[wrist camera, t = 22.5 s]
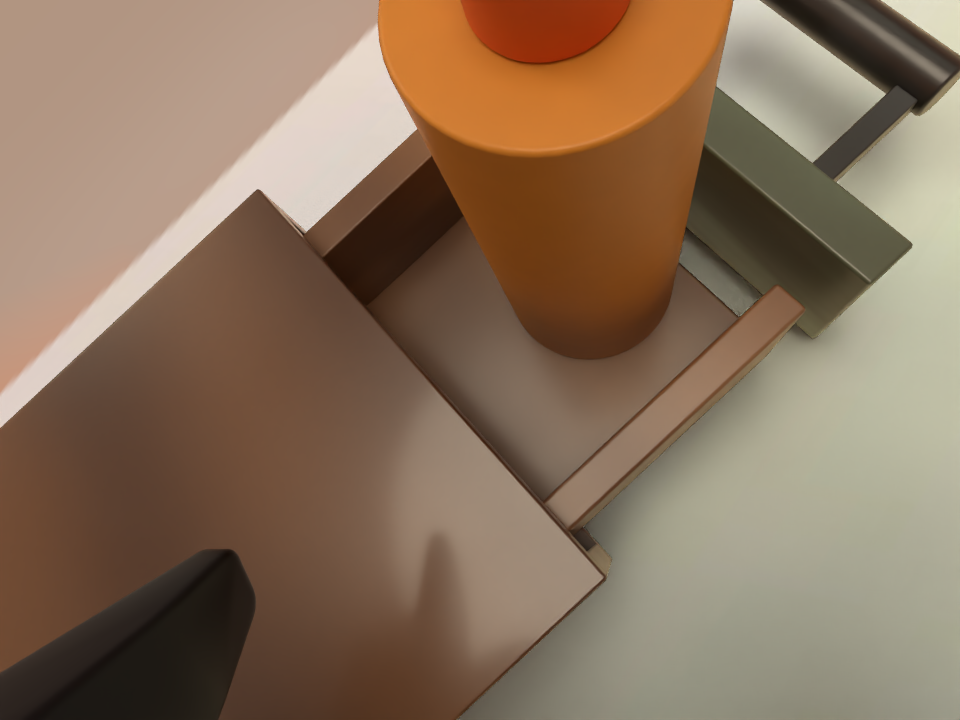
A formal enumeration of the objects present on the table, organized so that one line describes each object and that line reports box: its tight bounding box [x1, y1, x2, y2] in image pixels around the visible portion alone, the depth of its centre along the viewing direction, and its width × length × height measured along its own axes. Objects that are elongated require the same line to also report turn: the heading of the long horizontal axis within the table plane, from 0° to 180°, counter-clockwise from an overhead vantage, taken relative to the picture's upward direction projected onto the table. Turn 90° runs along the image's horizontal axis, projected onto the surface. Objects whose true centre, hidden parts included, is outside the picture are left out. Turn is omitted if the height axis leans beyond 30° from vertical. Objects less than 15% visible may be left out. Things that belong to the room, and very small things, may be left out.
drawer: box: [303, 0, 960, 536], centre depth 18 cm, size 17×10×5 cm, turn 132°
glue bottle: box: [378, 0, 733, 359], centre depth 13 cm, size 4×4×12 cm
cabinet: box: [0, 190, 612, 720], centre depth 18 cm, size 13×11×6 cm
